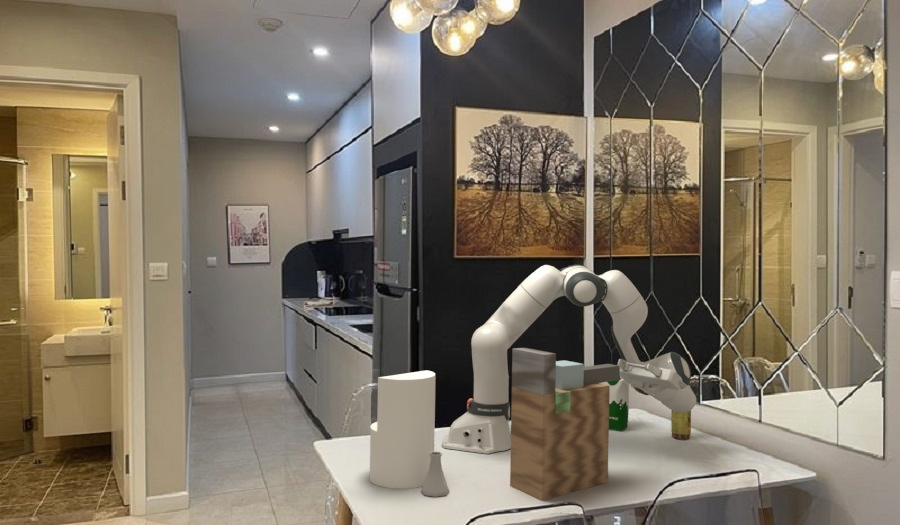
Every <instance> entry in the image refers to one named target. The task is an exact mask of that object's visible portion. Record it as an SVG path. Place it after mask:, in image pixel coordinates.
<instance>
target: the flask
mask: <svg viewBox="0 0 900 525" xmlns="http://www.w3.org/2000/svg"><path fill="white" fill-rule="evenodd" d="M429 454H430V457H431V459H430V466H429V470H428V473H427V476H426V479H425V481H424V484H423V486H421V490H420V492H421V493H422V494H423V495H424V496H428V497H434V498H435V497H437V498H438V497H443V496H447V495H448V494H449V492H450V490H449V485H448V484H447V480H446V477H445V474H444V471H443V467H442V456H443V453H442V452H441V451H436V450H434V452H430V453H429Z"/></svg>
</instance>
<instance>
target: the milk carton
mask: <svg viewBox="0 0 900 525" xmlns="http://www.w3.org/2000/svg"><path fill="white" fill-rule="evenodd" d="M601 384H605V385H609V386H610V391H609V431H616V432H623V431H624V430H626V429H627V428H629V427H628V424H629V411H630V409H629V408H630V407H629V406H630V405H629V403H630V397H629V396H630V383H628V382H627V381H625V380H624V379H623V378H621V377H620V376H619V380H617V381H610V382H602V383H601Z"/></svg>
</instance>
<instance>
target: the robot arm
mask: <svg viewBox="0 0 900 525" xmlns="http://www.w3.org/2000/svg"><path fill="white" fill-rule="evenodd" d="M564 296H565V297H566V298H567V299H568V301H570V302H571V303H572V304H573V305H576V306H577V307H590V306H592V305H595V304H598V303H602V304H603V305H604V307H605V308H606V309H607V312H609V314H610V317H611V319H612V325H611V327H610V332H611V336H612V339H613V342H614V345H615V347H616V350H617V351H618V353H619V355H620V357H621V358H619V359H618V362H617V364H616V365H618V366H620V373H619V376H620V377H621V378H623V379H624V380H625V381H627V382H628V383H629V385H630V387H631V388H633V389H634V390H635V391H636V392H638V393H639V394H642V395H644V396H650V397H652V398H654V399H655V400H657V401H659V402H660V403H661V404H662V405H663V406H665V407H666V408H668V409H669V410H671V412H672V411H675V412H677V413H686V412H689V411H690V410H691V411H692V410H693V409H694V407H695V406H696V404H697V397H696V394H695V393H694V391H693V389H692V388H691V380H692V371H691V367H690V365H689V363H688V361H687V360H686V359H685V358H684V357H683V356H682V355H680V354H679V353H677V352H675V351H670V352H668V353H665V354H662V355H659V356H658V357H655V358H653V359H651V360H647V361H641V360H640V359H639V357H638V354H637V352H636V350H635V348H634V346H633V343H632V341H631V340H632V339H631V338H632V336H633V335H634V334H635V333H636V332H637V331H638V330H639V329H640V328H641V327H642V326H643V325H644V323H645V321H646V319H647V317H648V312H649V311H648V310H649V308H648V305H647V303H646V301H645V300H644V297H643V296H642V295H641V293H640V291H639V290H638V289H637V288H636V286H635V285H634V284H633V282H632V281H631V280H630V279H629V278H628V277H627V275H625V274H624V273H623V272H622V271H620V270H618V269H613V270H608V271H606V272H603V273H602V274H599V275H598V274H595V272H594V271H592V270H591V269H590V268H589V267H587V266H586V265H583V264H571V265H568V266H567V267H562V268H559V269H558V268H556V267H555V266H552V265H549V264H544V265H542V266H540V267H538V268H537V269H536V270H534V272H532V273H531V274H530V275H528V277H526V278H525V279H524V280H523V281H522V282H521V283H520V284H519V285H517V288H516V289H515V290H514V291H512V293H511V294H510V295H509V296H508V297H507V298H506V299H505V301H503V302H502V303H501V305H500V306H499V307H498V309H497V310H496V311H495V312H494V313H493V314H492V315H491V316H490V317H489V318H488V320H486V322H485V323H484V324H483V325H481V326H480V327H478V328H476V330H475V331H474V332H473V334H472V337H471V340H470V341H471V342H470V345H471V357H472V360H471V361H472V369H473V398H469V399H468V400H467V402H466V412H465V413H464V414H462V415H461V416H459V417H457V418H456V419H455V420H454V421H453V422H452V424H451V425H450V427H449V431H448V435H446V436H444V437H443V439H442V440H441V447H443V449H449V450H457V451H464V452H470V453H479V454H489V455H490V454H493V453H497V452H504V451H507V450H511V429H510V422H509V421H510V418H511V406H510V404H511V402H510V401H509V384H510V382H509V380H510V376H509V367H508V349H510V348H511V346H512V345H513V344H514V343H516V341H517V340H518V339H519V338H520V337H521V336H522V334H524V333H525V332H526V331H527V330H528V329H529V327H530V326H531V325H532V324H533V323H534V322H536V320H538V318H539V317H540V316H541V315H542V314H543V312H544V311H545V310H546V309H547V308H549V306H550V305H552V303H553V301H555V300H556V299H558V298H561V297H564Z"/></svg>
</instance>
